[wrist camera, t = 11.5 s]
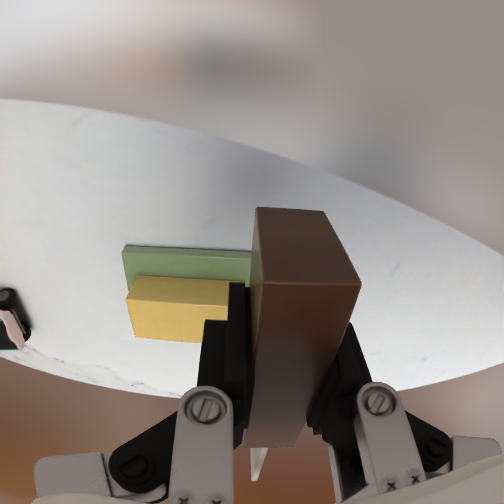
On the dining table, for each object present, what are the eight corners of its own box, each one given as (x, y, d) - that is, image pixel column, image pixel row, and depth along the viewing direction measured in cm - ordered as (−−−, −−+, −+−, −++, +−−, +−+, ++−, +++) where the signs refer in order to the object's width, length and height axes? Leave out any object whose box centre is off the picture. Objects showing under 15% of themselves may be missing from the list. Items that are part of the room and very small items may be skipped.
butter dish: (125, 245, 23) (107, 274, 19) (330, 255, 23) (343, 286, 20) (139, 320, 27) (128, 352, 23) (311, 328, 28) (318, 361, 24)
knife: (255, 205, 9) (262, 280, 6) (324, 210, 9) (363, 283, 6) (236, 438, 16) (236, 488, 13) (268, 438, 16) (272, 487, 13)
